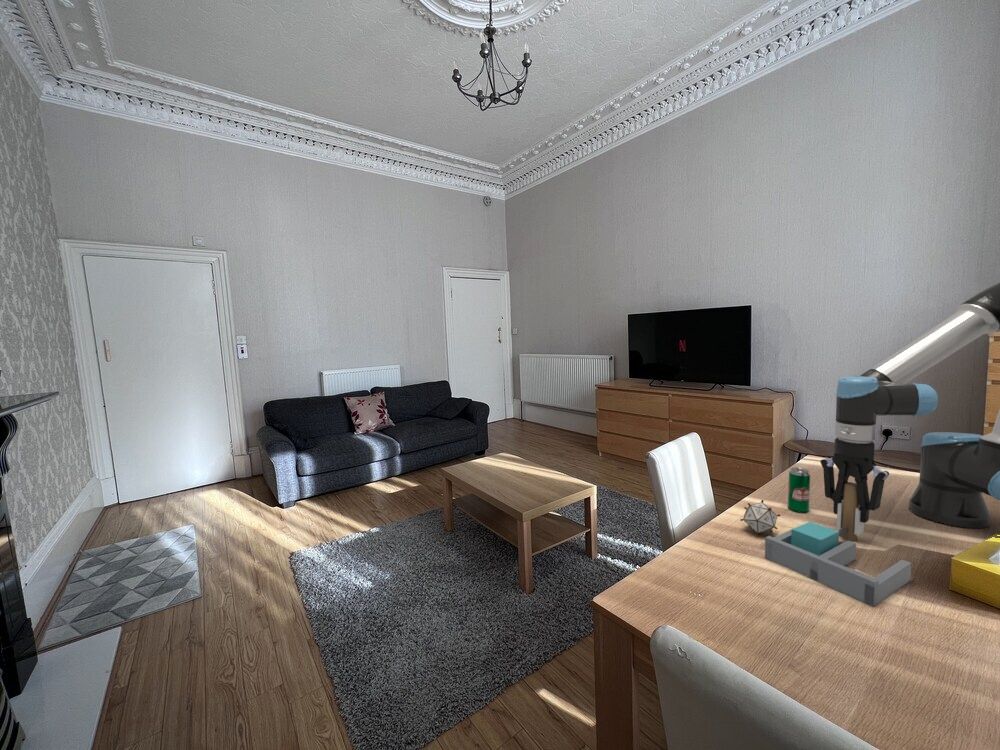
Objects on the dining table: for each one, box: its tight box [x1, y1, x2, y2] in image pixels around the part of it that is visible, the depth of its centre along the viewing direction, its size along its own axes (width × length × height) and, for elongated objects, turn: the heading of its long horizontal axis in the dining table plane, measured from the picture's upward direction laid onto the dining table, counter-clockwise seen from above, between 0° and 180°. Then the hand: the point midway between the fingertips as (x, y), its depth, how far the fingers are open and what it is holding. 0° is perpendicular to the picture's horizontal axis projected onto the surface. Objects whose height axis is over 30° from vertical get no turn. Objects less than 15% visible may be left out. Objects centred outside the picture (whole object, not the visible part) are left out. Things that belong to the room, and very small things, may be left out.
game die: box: [739, 499, 781, 537], centre depth 110 cm, size 9×8×10 cm
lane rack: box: [764, 524, 912, 608], centre depth 93 cm, size 16×20×5 cm
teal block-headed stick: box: [791, 481, 859, 556], centre depth 100 cm, size 22×6×14 cm, turn 118°
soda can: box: [787, 467, 811, 513], centre depth 121 cm, size 5×5×12 cm
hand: (849, 530), depth 105 cm, fingers closed on teal block-headed stick, 3 cm apart
